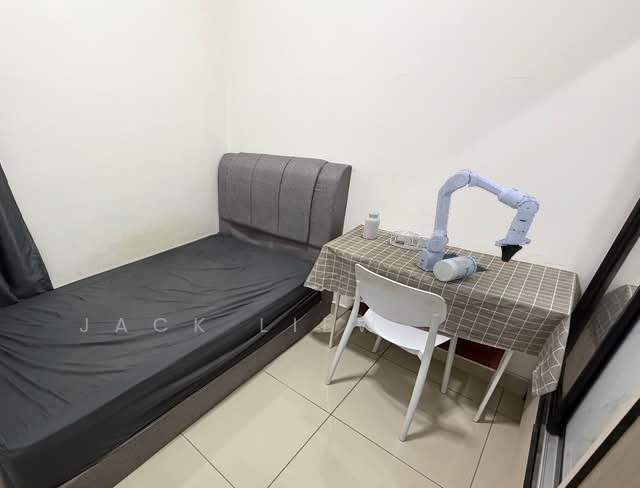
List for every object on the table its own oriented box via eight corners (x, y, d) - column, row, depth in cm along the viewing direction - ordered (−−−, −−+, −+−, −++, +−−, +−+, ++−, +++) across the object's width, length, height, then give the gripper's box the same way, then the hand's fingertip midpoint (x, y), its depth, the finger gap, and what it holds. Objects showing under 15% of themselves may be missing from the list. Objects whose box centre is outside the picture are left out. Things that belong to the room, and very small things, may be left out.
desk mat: (457, 273, 138) (457, 273, 138) (426, 256, 156) (426, 256, 156) (487, 270, 141) (487, 269, 141) (453, 253, 158) (453, 253, 158)
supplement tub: (473, 279, 133) (449, 286, 129) (453, 270, 141) (430, 276, 137) (481, 259, 128) (456, 265, 124) (460, 251, 136) (436, 257, 132)
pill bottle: (363, 239, 179) (368, 214, 172) (361, 234, 186) (365, 210, 179) (377, 240, 178) (383, 215, 171) (374, 235, 185) (379, 211, 177)
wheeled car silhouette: (432, 248, 165) (436, 235, 161) (424, 254, 158) (428, 240, 155) (396, 239, 178) (399, 227, 175) (387, 244, 172) (390, 231, 168)
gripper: (512, 234, 114) (498, 266, 120) (544, 231, 116) (529, 263, 122) (495, 228, 120) (483, 259, 127) (526, 226, 122) (512, 256, 129)
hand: (504, 261), depth 125 cm, fingers closed
